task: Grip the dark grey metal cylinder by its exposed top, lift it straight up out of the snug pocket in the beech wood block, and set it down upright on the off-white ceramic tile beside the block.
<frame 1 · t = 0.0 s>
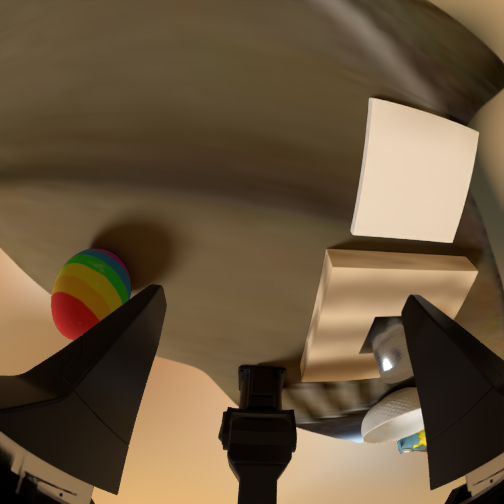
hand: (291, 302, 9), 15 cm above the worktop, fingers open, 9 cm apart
cereal bowl: (398, 396, 41), on the worktop
metal part: (392, 341, 26), in the pocket block
pocket block: (383, 317, 29), on the worktop
ceramic tile: (419, 176, 20), on the worktop
owl figurine: (419, 424, 54), on the worktop
decorative egg: (108, 268, 28), on the worktop
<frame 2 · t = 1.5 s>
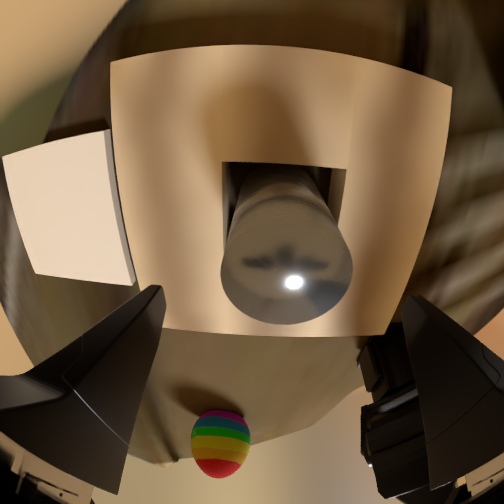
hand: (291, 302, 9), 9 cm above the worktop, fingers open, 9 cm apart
metal part: (282, 229, 13), in the pocket block
pocket block: (279, 200, 17), on the worktop
ceramic tile: (61, 213, 18), on the worktop
decorative egg: (223, 415, 34), on the worktop
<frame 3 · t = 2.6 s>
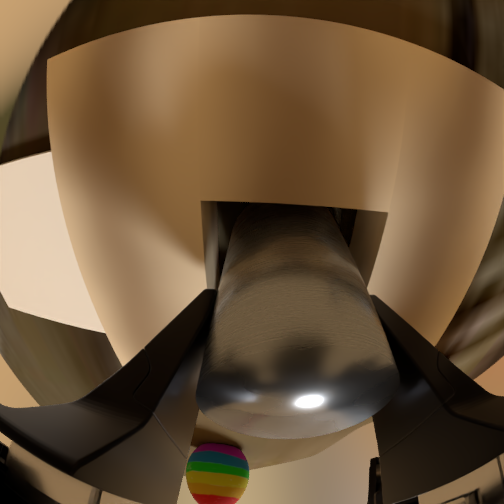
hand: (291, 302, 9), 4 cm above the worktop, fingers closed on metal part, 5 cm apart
metal part: (291, 301, 9), in the pocket block, touching gripper
pocket block: (285, 243, 13), on the worktop
ceramic tile: (24, 246, 14), on the worktop
decorative egg: (220, 447, 30), on the worktop
when the fingers open (6 cm above the worktop, at t = 8.4 s): metal part drops 1 cm, resting on ceramic tile.
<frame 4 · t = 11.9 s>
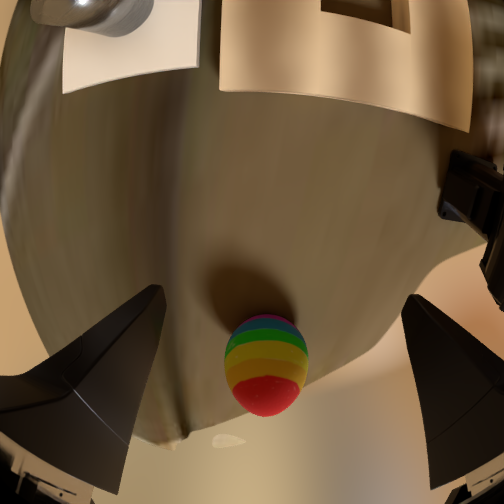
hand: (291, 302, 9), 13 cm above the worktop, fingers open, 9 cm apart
ceramic tile: (127, 13, 13), on the worktop
decorative egg: (266, 330, 29), on the worktop
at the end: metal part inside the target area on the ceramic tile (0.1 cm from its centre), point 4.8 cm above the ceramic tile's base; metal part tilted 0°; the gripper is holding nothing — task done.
